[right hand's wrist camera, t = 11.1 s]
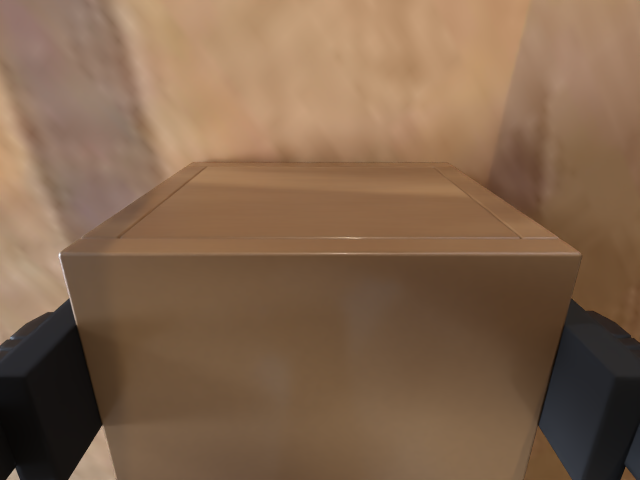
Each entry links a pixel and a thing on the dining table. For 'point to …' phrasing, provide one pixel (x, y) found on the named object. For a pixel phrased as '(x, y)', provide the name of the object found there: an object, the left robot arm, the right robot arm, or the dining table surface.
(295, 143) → the dining table surface
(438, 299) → the cabinet
